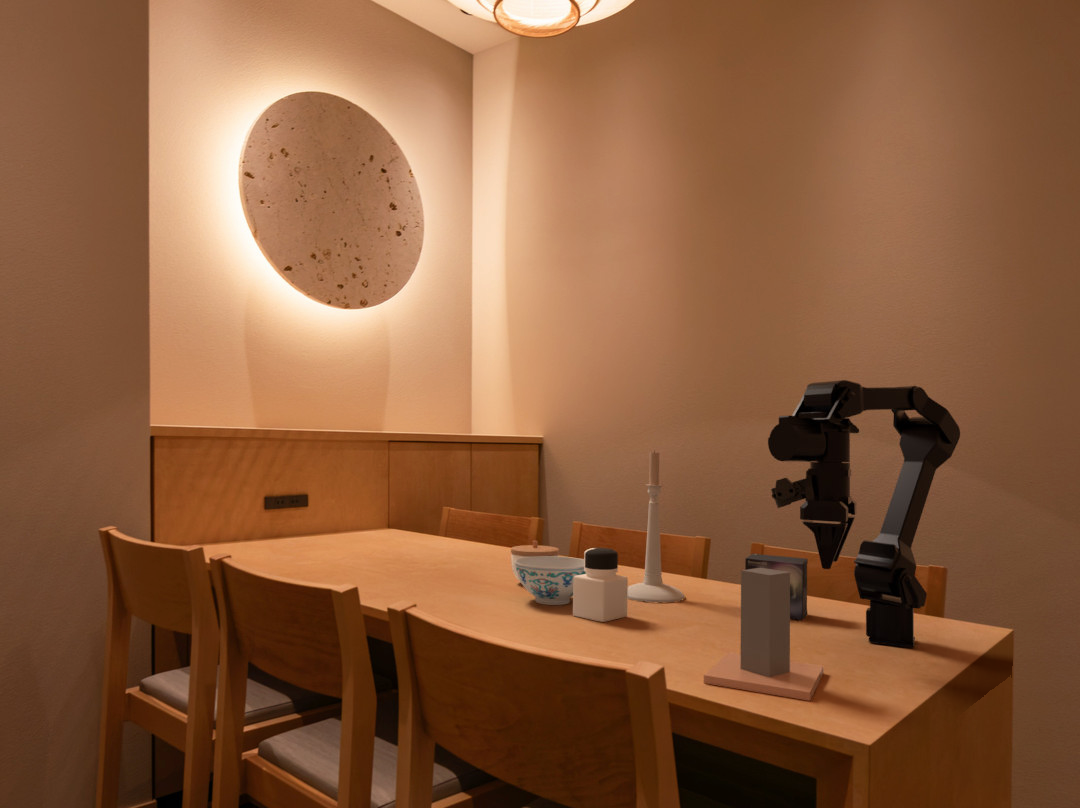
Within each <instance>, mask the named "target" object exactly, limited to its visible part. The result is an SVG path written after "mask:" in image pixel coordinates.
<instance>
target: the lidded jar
mask: <svg viewBox="0 0 1080 808" xmlns="http://www.w3.org/2000/svg"><path fill="white" fill-rule="evenodd" d="M510 553H511V557H510V559H511V561H510V563H511V569H512V572H513V575H514V576H515V577H516V579H517V580H518V581H519V582H520V583H521V581H520V579H519V577H518V574H517V570H516V565H515V561H516V560H517V559H520V558H525V557H536V556H559V555H560V549H559V548H558V547H556V546H555V547H554V546H550V545H539V543H538V540H532V544H531V545H530V544H529V545H517V546H515V545H514V546H512V547H511V548H510ZM559 557H560V556H559ZM520 585H522V583H521V584H520Z"/></svg>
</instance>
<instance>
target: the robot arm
mask: <svg viewBox="0 0 1080 808" xmlns="http://www.w3.org/2000/svg"><path fill="white" fill-rule="evenodd" d="M884 410H885V411H886V410H887V411H888V410H889V411H891V412H892V413H893V419H892V420H893V422H892V423H893V424H892V426H893V427H894V429H895V430H896V432H897V433H898V434H899V436H900V439H899V448H900V451H901V453H902V456H903V462H902V465H901V466H902V467H901V469H900V472H899V474H898V478H897V481H896V483H895V486H894V489H893V493H892V496H891V499H890V502H889V505H888V507H887V510H886V513H885V516H884V520H883V522H882V525H881V527H880V530H879V534H878V536H877V537H876V538H874V539H873V540H872V541H870V540H863V541H862V542H861V544H860V546H859V549H858V550H859V551H858V554H857V557H856V558H855V559H854V561H853V562H854V564H855V565H854V566H855V567H854V570H853V575H854V580H855V583H856V587H857V592H858V596H859V599H860V600H868V601H869V607H867V608H866V610H865V636H866V637H868V642H869V643H872V644H873V643H874V644H880V645H881V644H882V645H889V646H896V647H905V648H912V649H913V648H915V644H916V643H915V642H916V641H915V639H916V638H915V633H914V632H915V630H914V627H915V625H914V624H915V623H914V622H915V621H914V616H915V615H914V609H921V608H923V607H925V605H926V601H927V595H928V594H927V592H926V590H925V588H924V587H923V585H922V584H921V582H919V579H918V578H917V577H916V571H917V563H916V560H915V557H914V554H913V551H912V546H913V543H914V539H915V536H916V533H917V530H918V526H919V524H920V520H921V518H922V517H921V516H922V514H923V511H924V509H925V505H926V502H927V499H928V495H929V494H930V493H929V492H930V489H931V486H932V484H933V480H934V476H935V474H936V471H937V469H938V468H940V466H942V465H943V464H945V463H946V461H948V460H949V459H951V458H952V455H953V454H954V451H955V449H956V447H957V445H958V443H959V441H960V437H961V429H960V427H959V425H958V423H957V422H956V420H955V419H954V417H953V416H952V414H951V413H950V412H949V410H948V409H947V408H946V407H944V406H943V405H942V404H940V403H939V402H937V401H936V400H934V399H932V398H930V396H929V395H928V394H927V392H926V391H925V390H924V388H922V387H921V386H917V385H906V386H895V387H884V386H883V387H882V386H881V387H866V386H862V385H861V384H860V383H858V382H855V381H851V380H847V379H841V380H830V381H819V382H818V381H817V382H816V381H815V382H812V383H809V384H807V386H806V388H805V391H804V393H803V395H802V397H801V398H800V400H799V402H798V404H797V406H796V407H795V409H794V411H793V413H792V415H779V416H778V424H776V425H775V426H774V427H773V428H772V430H771V432H770V433H769V437H768V438H767V446H768V450H769V452H770V454H771V456H772V457H773V458H774V459H775V460H777V461H780V462H795V463H796V462H801V463H806V462H807V463H808V462H809V468H807V469H806V470H805V478H801V479H799V480H795V481H791V480H790V479H789V478H788V477H783V478H780V479H777V480H776V481H775V487H773V488H770V491H771V493H772V494H771V497H772V499H774V501H775V505H776V508H777V509H779V508H780V509H781V508H783V507H786V506H789V505H792V503H796V502H799V501H802V500H804V499H805V501H804V503H802V504H801V505H800V506H799V509H800V510H799V515H800V516H799V519H800V520H803V521H802V522H801V523H802V524H803V526H806V527H807V528H808V529H809V530H810V531H811V532H812V533H813V535H814V539H815V543H816V547H817V551H818V556H819V560H820V565H821V568H822V569H823V570H830V569H831V568H832V565H833V563H834V562H836V563H837V561H838V560H839V557H840V555H841V552H842V550H843V547H844V545H845V543H846V541H847V538H848V536H849V534H850V531H851V528H852V526H853V524H854V522H855V520H856V515H857V501H855V499H853V498H852V495H851V477H852V469H851V451H850V450H851V442H850V441H851V434H859V433H860V429H859V428H858V426H857V425H855V424H854V423H853V422H852V421H851V419H850V418H851V417H853V416H858V415H861V414H862V413H863V412H864V411H884ZM906 411H916V414H918V415H920V416H912V417H909V415H908V414H907V412H906ZM849 514H850V516H849ZM851 515H853V516H851ZM854 515H855V516H854Z"/></svg>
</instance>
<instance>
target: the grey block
mask: <svg viewBox="0 0 1080 808" xmlns="http://www.w3.org/2000/svg"><path fill="white" fill-rule="evenodd" d="M740 654H741V668H740V669H742V670H746V671H749V672H752V673H756V674H759V675H762V676H766V677H769V678H770V677H773V676H777V675H780V674H784V673H787V672H790V661H791V619H790V572H785V571H779V570H773V569H767V568H755V569H747V570H745V569H741V570H740Z"/></svg>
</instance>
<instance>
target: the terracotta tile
mask: <svg viewBox="0 0 1080 808" xmlns="http://www.w3.org/2000/svg"><path fill="white" fill-rule="evenodd" d="M740 668H741V653H737V652H731V651H727V652H726V653H725V654H724V655H723V656H721V658H720V659H719V660H718V661H717V662H716V663H715V664H714V665H712V666H711V667H710V668H709V669H708V670H707V671H706V672H705V673H704V674H703V684H708V685H713V686H719V687H725V688H731V689H738V690H742V691H750V692H755V693H760V694H767V695H772V696H779V697H785V698H791V699H797V700H802V701H807V702H808V701H811V699H812V697H813V695H814V693H815V691H816V689H817V687H818V686H819V683H820V682H821V679H822V677H823V675H824V665H820V664H812V663H806V662H799V661H791V660H790V672H787V673H784V674H780V675H777V676H773V677H770V678H769V677H766V676H762V675H759V674H756V673H752V672H749V671H746V670H742V669H740Z"/></svg>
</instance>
